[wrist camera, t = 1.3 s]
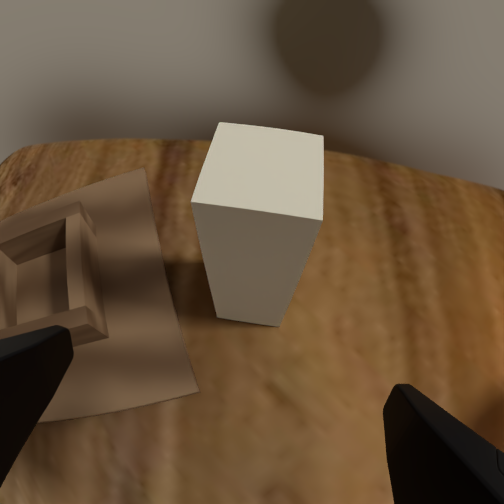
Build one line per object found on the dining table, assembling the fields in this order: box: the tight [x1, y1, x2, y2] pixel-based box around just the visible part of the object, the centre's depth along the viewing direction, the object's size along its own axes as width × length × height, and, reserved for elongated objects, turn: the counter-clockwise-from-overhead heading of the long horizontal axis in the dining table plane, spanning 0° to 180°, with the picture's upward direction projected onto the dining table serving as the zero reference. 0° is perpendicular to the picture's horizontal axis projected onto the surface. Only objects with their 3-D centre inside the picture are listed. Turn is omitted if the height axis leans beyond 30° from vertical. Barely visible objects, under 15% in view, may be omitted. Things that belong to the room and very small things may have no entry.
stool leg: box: [191, 122, 324, 327], centre depth 17 cm, size 4×4×13 cm
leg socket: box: [0, 168, 200, 423], centre depth 20 cm, size 20×20×4 cm
